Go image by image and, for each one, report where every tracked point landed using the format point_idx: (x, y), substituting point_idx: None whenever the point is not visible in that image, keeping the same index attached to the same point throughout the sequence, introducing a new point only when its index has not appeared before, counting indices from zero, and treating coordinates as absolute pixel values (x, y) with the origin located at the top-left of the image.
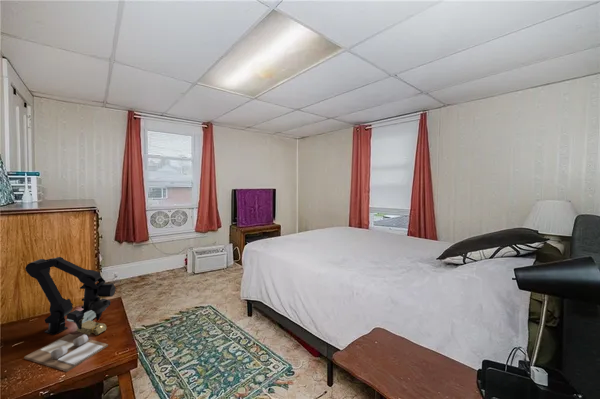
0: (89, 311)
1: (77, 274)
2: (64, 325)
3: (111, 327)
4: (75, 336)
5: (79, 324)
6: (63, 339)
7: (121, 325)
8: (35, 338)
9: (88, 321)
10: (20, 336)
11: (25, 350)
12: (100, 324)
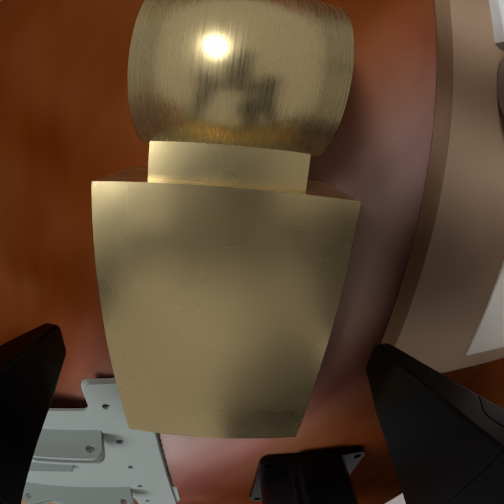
0: (49, 474)
1: None
2: (312, 491)
3: (68, 54)
4: (429, 287)
5: (471, 400)
6: (464, 337)
7: (17, 3)
8: (393, 465)
9: (151, 416)
10: (369, 499)
11: (491, 398)
12: (112, 179)
